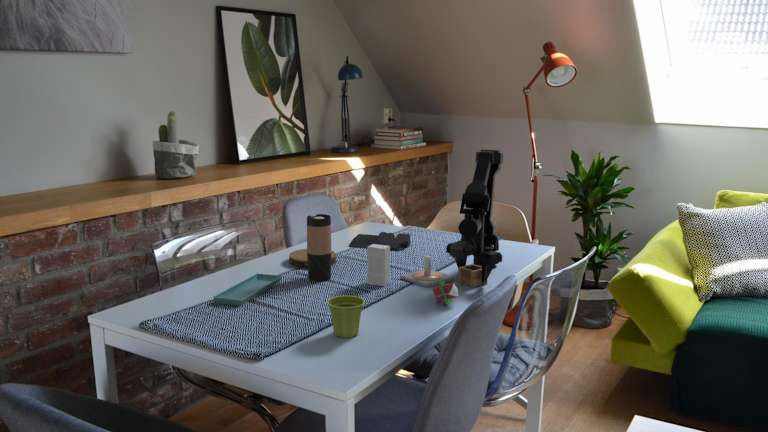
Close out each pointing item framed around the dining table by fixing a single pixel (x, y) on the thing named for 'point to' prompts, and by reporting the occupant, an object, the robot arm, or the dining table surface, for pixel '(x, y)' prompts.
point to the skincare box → (378, 264)
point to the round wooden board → (304, 258)
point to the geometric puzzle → (445, 292)
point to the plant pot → (346, 315)
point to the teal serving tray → (247, 289)
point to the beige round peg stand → (427, 275)
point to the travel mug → (319, 247)
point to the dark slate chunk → (382, 241)
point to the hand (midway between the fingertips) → (472, 279)
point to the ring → (470, 275)
